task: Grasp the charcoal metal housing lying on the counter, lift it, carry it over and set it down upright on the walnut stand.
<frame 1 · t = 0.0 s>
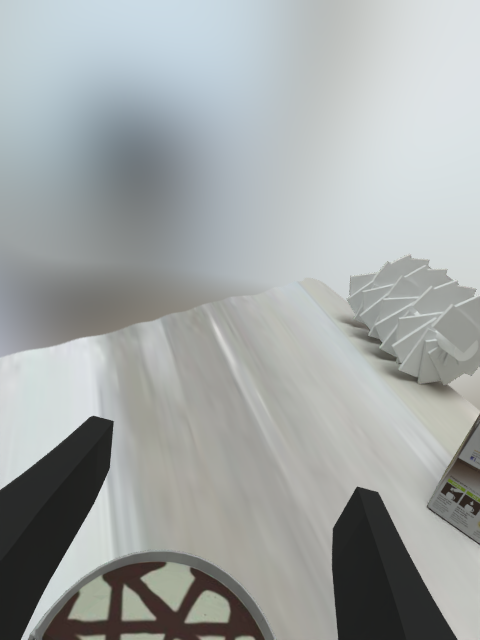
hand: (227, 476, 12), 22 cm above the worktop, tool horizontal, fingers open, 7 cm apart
coffee box: (464, 505, 44), on the worktop
spiral staircase: (398, 356, 75), on the worktop
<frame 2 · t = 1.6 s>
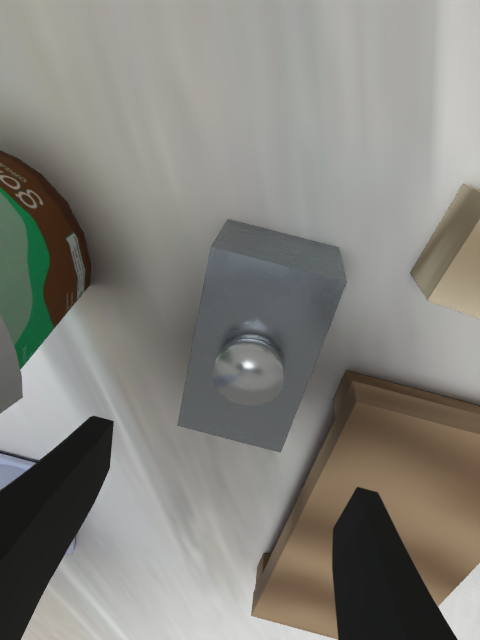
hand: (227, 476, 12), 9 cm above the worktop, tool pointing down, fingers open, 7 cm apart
housing: (259, 317, 20), on the worktop
food container: (4, 192, 19), on the worktop
stand: (370, 508, 25), on the worktop
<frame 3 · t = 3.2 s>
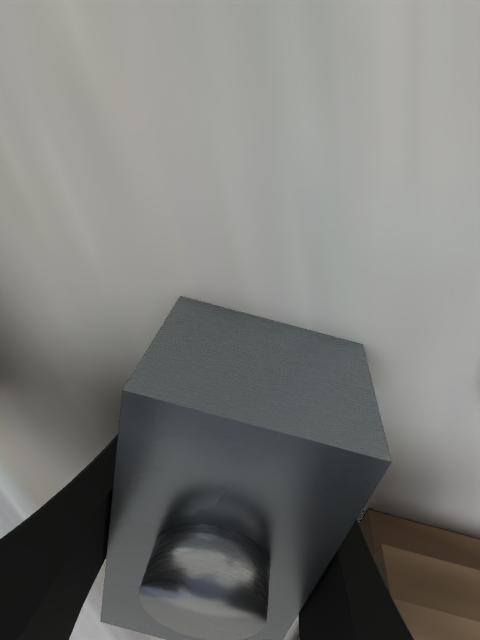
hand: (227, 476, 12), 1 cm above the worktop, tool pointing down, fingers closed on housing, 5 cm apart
housing: (235, 436, 13), on the worktop, touching gripper
when the fingers open (5 cm above the worktop, at t = 7.2 s): housing stays where it is, resting on stand.
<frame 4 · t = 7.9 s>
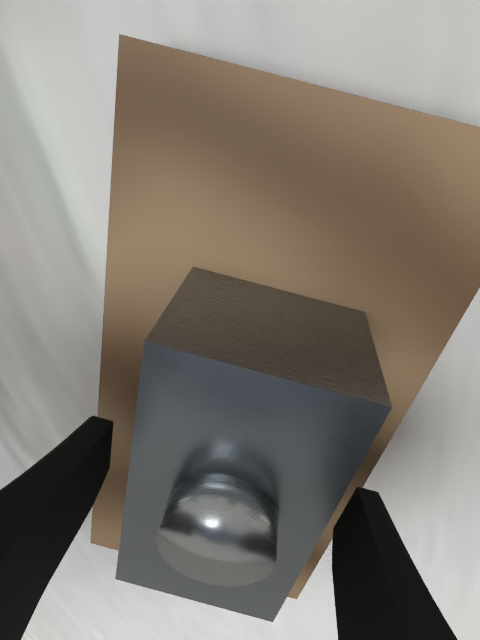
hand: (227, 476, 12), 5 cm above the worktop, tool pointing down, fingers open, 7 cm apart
housing: (243, 406, 14), point 3 cm above the worktop, touching stand
stand: (249, 366, 16), on the worktop
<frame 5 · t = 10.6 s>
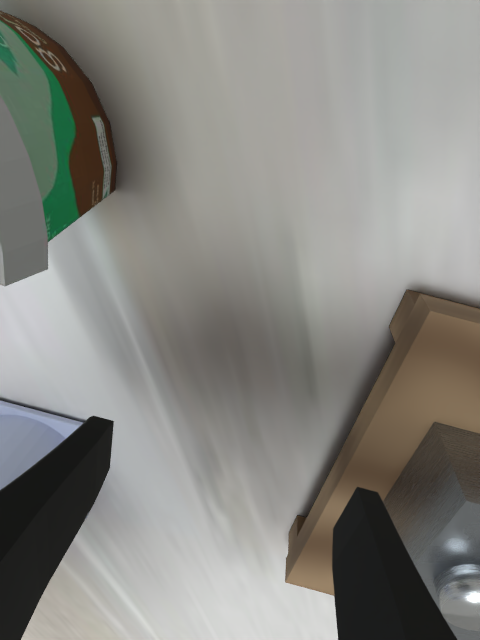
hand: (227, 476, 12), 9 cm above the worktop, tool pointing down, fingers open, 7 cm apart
housing: (441, 499, 20), point 3 cm above the worktop, touching stand
food container: (18, 74, 16), on the worktop
stand: (421, 459, 23), on the worktop
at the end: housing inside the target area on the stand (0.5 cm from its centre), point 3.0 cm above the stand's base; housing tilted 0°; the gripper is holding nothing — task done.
